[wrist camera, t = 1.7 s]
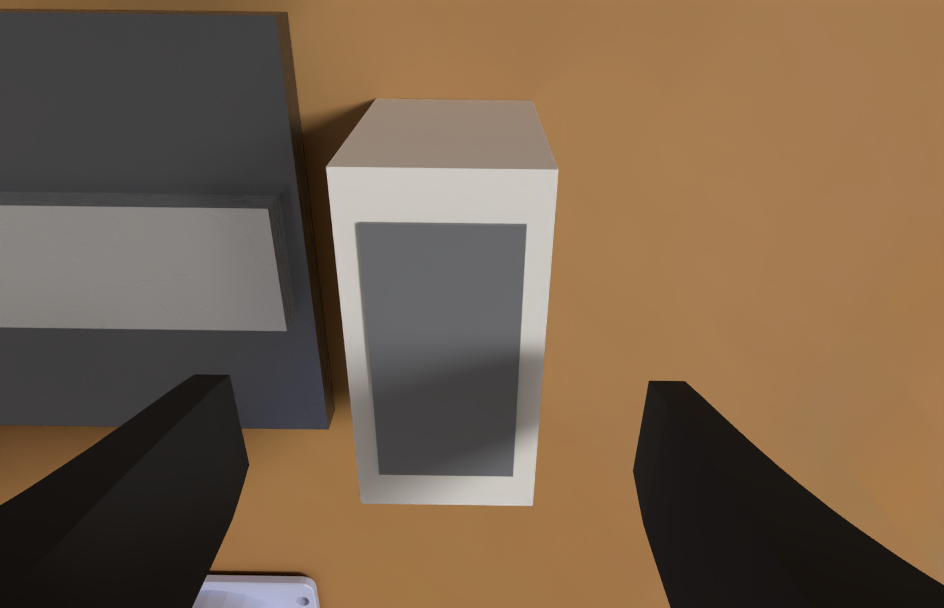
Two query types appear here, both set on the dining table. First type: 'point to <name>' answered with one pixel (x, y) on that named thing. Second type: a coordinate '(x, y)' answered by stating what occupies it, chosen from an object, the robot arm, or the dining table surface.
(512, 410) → the block
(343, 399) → the dining table surface
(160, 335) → the rail backplate
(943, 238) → the dining table surface
